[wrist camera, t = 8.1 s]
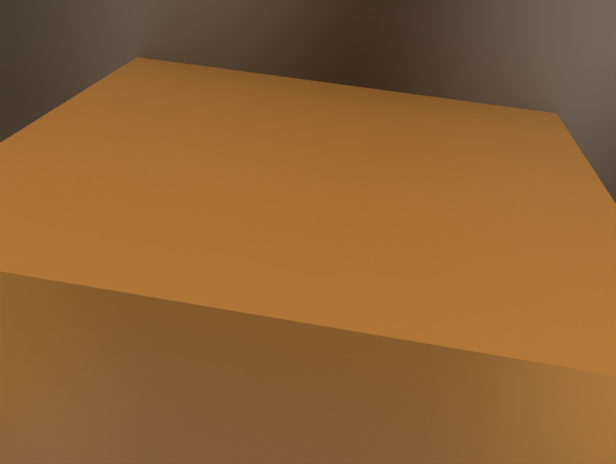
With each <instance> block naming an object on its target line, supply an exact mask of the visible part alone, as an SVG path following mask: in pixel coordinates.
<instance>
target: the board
mask: <svg viewBox="0 0 616 464" xmlns="http://www.w3.org/2000/svg"><path fill="white" fill-rule="evenodd" d="M136 57H141V58H148V59H155V60H163V61H170V62H178V63H185V64H193V65H200V66H208V67H215V68H222V69H230V70H237V71H245V72H252V73H260V74H267V75H275V76H282V77H290V78H297V79H304V80H312V81H319V82H327V83H334V84H342V85H349V86H357V87H364V88H372V89H379V90H386V91H394V92H401V93H409V94H416V95H424V96H431V97H439V98H446V99H454V100H461V101H468V102H476V103H483V104H491V105H498V106H506V107H513V108H521V109H528V110H536V111H543V112H550V113H557V115H558V116H559V118H560V119H561V121H562V122H563V124H564V125H565V127H566V128H567V130H568V131H569V133H570V134H571V136H572V137H573V139H574V141H575V142H576V144H577V145H578V147H579V148H580V150H581V151H582V153H583V154H584V156H585V157H586V159H587V160H588V162H589V163H590V165H591V167H592V168H593V170H594V171H595V173H596V174H597V176H598V177H599V179H600V180H601V182H602V183H603V185H604V186H605V188H606V189H607V191H608V192H609V194H610V196H611V197H612V199H613V200H614V202H615V203H616V0H0V143H1V142H2V141H4V140H6V139H7V138H9V137H10V136H12V135H14V134H15V133H17V132H18V131H20V130H22V129H23V128H25V127H26V126H28V125H30V124H31V123H33V122H34V121H36V120H37V119H39V118H41V117H42V116H44V115H45V114H47V113H49V112H50V111H52V110H53V109H55V108H57V107H58V106H60V105H61V104H63V103H65V102H66V101H68V100H69V99H71V98H73V97H74V96H76V95H77V94H79V93H81V92H82V91H84V90H85V89H87V88H89V87H90V86H92V85H93V84H95V83H96V82H98V81H100V80H101V79H103V78H104V77H106V76H108V75H109V74H111V73H112V72H114V71H116V70H117V69H119V68H120V67H122V66H124V65H125V64H127V63H128V62H130V61H132V60H133V59H135V58H136Z"/></svg>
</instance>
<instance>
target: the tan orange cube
mask: <svg viewBox="0 0 616 464" xmlns="http://www.w3.org/2000/svg"><path fill="white" fill-rule="evenodd" d="M0 464H616V203H615V202H614V200H613V199H612V197H611V196H610V194H609V192H608V191H607V189H606V188H605V186H604V185H603V183H602V182H601V180H600V179H599V177H598V176H597V174H596V173H595V171H594V170H593V168H592V167H591V165H590V163H589V162H588V160H587V159H586V157H585V156H584V154H583V153H582V151H581V150H580V148H579V147H578V145H577V144H576V142H575V141H574V139H573V137H572V136H571V134H570V133H569V131H568V130H567V128H566V127H565V125H564V124H563V122H562V121H561V119H560V118H559V116H558V115H557V113H550V112H543V111H536V110H528V109H521V108H513V107H506V106H498V105H491V104H483V103H476V102H468V101H461V100H454V99H446V98H439V97H431V96H424V95H416V94H409V93H401V92H394V91H386V90H379V89H372V88H364V87H357V86H349V85H342V84H334V83H327V82H319V81H312V80H304V79H297V78H290V77H282V76H275V75H267V74H260V73H252V72H245V71H237V70H230V69H222V68H215V67H208V66H200V65H193V64H185V63H178V62H170V61H163V60H155V59H148V58H141V57H136V58H135V59H133V60H132V61H130V62H128V63H127V64H125V65H124V66H122V67H120V68H119V69H117V70H116V71H114V72H112V73H111V74H109V75H108V76H106V77H104V78H103V79H101V80H100V81H98V82H96V83H95V84H93V85H92V86H90V87H89V88H87V89H85V90H84V91H82V92H81V93H79V94H77V95H76V96H74V97H73V98H71V99H69V100H68V101H66V102H65V103H63V104H61V105H60V106H58V107H57V108H55V109H53V110H52V111H50V112H49V113H47V114H45V115H44V116H42V117H41V118H39V119H37V120H36V121H34V122H33V123H31V124H30V125H28V126H26V127H25V128H23V129H22V130H20V131H18V132H17V133H15V134H14V135H12V136H10V137H9V138H7V139H6V140H4V141H2V142H1V143H0Z"/></svg>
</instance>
